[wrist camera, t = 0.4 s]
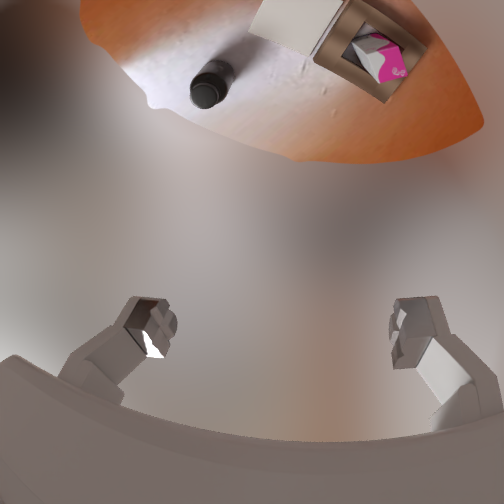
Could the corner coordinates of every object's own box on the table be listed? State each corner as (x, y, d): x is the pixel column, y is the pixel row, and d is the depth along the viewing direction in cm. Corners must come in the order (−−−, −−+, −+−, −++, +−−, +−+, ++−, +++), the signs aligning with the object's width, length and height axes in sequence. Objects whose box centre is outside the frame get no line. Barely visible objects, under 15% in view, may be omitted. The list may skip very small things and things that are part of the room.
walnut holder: (352, -4, 28) (356, -3, 26) (421, 44, 32) (427, 48, 30) (312, 58, 41) (314, 62, 39) (380, 97, 45) (384, 103, 43)
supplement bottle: (194, 75, 46) (175, 98, 39) (216, 53, 42) (200, 70, 35) (219, 95, 50) (206, 121, 43) (242, 74, 45) (232, 96, 38)
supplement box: (361, 65, 40) (377, 84, 33) (349, 39, 36) (364, 52, 29) (387, 58, 37) (409, 76, 31) (376, 31, 33) (398, 44, 27)
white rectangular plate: (278, -28, 26) (278, -28, 26) (342, 1, 29) (343, 1, 29) (248, 31, 37) (247, 32, 37) (308, 56, 40) (308, 57, 40)
